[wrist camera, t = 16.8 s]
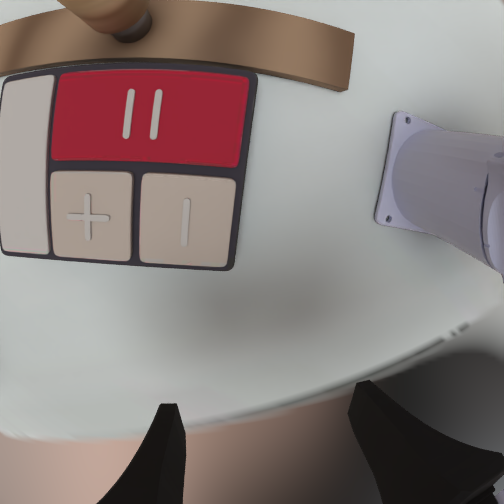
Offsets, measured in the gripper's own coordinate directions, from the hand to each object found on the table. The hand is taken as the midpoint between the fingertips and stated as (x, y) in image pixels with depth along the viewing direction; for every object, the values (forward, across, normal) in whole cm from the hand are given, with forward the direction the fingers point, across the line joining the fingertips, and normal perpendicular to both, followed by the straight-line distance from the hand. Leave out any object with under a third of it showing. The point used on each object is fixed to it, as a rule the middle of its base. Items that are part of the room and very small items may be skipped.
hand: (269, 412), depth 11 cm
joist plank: (+10, +6, -17) cm, 21 cm away
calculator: (+11, +7, -9) cm, 16 cm away
